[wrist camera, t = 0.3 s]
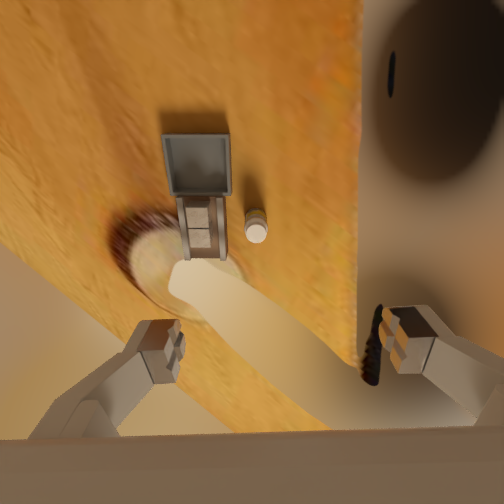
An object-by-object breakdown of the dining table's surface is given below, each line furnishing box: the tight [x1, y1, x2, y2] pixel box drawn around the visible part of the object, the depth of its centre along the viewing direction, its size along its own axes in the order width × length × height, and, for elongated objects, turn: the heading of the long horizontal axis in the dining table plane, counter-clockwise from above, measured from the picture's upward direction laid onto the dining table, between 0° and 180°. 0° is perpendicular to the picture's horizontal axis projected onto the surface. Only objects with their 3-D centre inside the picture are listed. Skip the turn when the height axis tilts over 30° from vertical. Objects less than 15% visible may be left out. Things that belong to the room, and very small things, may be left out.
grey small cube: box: [188, 221, 214, 248], centre depth 52 cm, size 4×4×4 cm
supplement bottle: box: [244, 208, 268, 243], centre depth 53 cm, size 5×5×8 cm
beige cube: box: [186, 201, 212, 228], centre depth 50 cm, size 4×4×4 cm
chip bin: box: [161, 133, 232, 196], centre depth 49 cm, size 11×12×3 cm
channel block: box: [176, 196, 228, 261], centre depth 55 cm, size 14×9×5 cm, turn 0°
